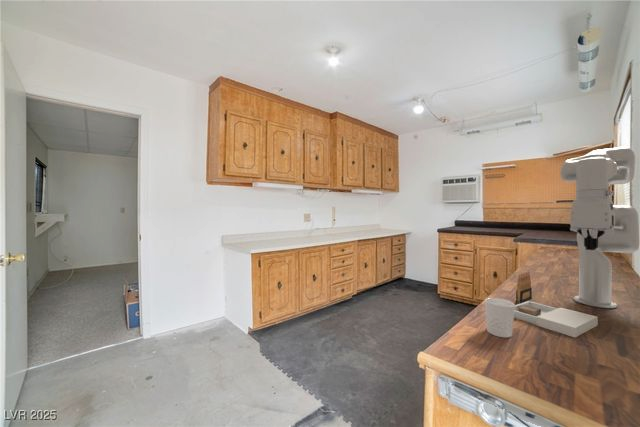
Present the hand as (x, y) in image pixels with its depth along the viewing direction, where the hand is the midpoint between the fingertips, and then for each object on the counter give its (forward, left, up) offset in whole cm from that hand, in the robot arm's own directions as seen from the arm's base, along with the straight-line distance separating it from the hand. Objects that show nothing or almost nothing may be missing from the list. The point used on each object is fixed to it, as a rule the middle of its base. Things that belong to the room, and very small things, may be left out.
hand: (590, 249), depth 91 cm
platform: (+7, -4, -26) cm, 27 cm away
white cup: (+33, -12, -26) cm, 43 cm away
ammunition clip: (-9, -24, -26) cm, 37 cm away
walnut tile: (+7, -15, -23) cm, 28 cm away
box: (+7, -14, -26) cm, 30 cm away
